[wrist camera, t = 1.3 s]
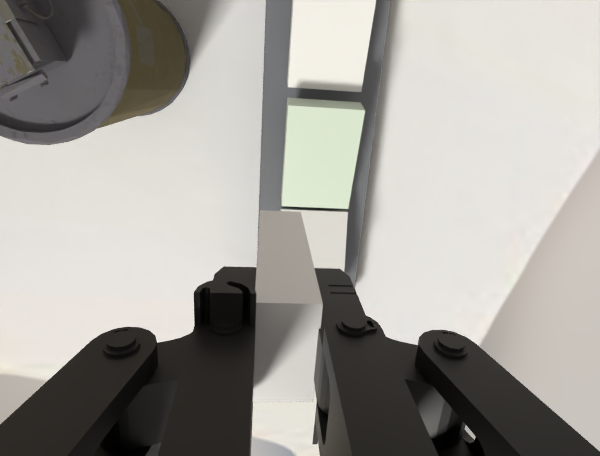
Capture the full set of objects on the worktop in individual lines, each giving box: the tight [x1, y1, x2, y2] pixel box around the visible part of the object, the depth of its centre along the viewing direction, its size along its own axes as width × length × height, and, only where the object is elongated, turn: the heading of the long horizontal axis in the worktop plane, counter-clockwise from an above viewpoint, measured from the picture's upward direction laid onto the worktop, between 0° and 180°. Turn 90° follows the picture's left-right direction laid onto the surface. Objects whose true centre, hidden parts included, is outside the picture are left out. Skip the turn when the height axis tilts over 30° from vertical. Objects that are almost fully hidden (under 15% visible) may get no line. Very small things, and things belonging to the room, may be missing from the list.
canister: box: [0, 0, 189, 145], centre depth 27 cm, size 11×10×20 cm
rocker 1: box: [287, 0, 376, 92], centre depth 32 cm, size 6×9×2 cm, turn 176°
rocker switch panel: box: [258, 0, 391, 288], centre depth 38 cm, size 10×34×5 cm, turn 176°
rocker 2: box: [280, 208, 348, 272], centre depth 38 cm, size 6×9×2 cm, turn 176°
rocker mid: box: [281, 98, 365, 209], centre depth 35 cm, size 6×9×2 cm, turn 176°
